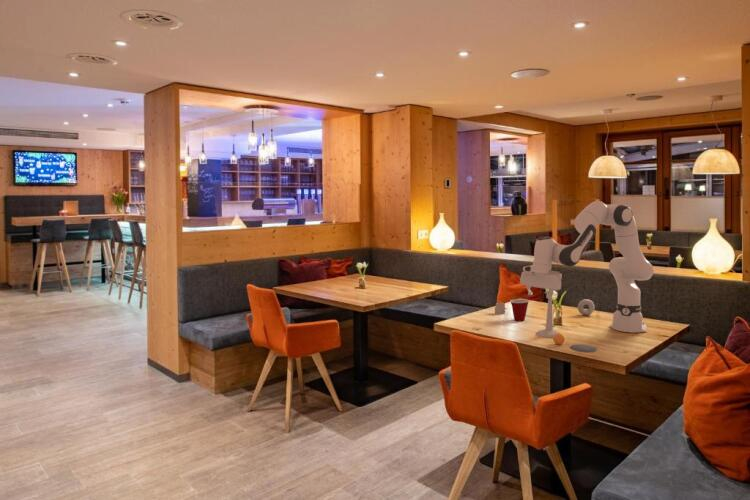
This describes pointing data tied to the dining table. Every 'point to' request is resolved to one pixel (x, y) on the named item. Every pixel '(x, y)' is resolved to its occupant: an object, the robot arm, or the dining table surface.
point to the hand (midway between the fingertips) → (539, 296)
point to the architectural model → (500, 308)
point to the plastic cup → (519, 309)
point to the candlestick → (548, 322)
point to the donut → (590, 309)
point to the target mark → (583, 348)
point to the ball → (558, 338)
